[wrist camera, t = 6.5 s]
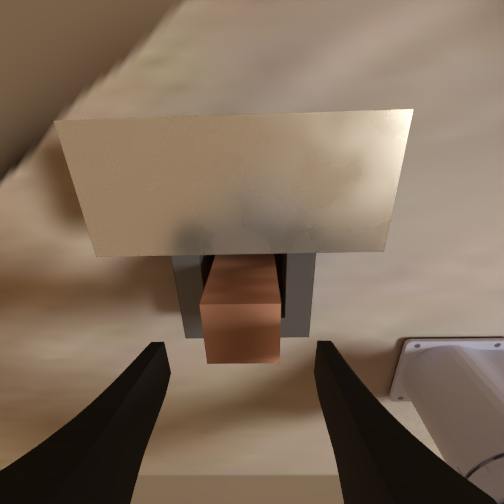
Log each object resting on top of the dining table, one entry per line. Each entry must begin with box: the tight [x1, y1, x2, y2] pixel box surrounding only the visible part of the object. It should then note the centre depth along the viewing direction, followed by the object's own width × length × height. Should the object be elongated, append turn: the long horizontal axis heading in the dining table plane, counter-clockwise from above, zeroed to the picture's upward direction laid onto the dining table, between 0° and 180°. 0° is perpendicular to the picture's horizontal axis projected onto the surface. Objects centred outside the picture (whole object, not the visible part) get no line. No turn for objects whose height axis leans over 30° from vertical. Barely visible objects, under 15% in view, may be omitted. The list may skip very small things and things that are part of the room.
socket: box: [171, 253, 316, 338], centre depth 19 cm, size 9×9×4 cm
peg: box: [199, 254, 281, 364], centre depth 17 cm, size 4×4×8 cm
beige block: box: [54, 109, 413, 257], centre depth 15 cm, size 14×6×7 cm, turn 92°
